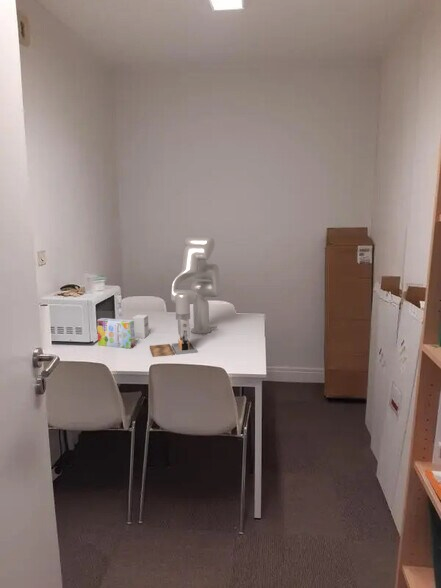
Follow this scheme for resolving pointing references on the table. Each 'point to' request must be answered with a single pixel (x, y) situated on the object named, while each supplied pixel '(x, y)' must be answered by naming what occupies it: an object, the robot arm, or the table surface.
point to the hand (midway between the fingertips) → (183, 348)
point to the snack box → (116, 332)
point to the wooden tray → (161, 350)
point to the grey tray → (191, 350)
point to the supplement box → (141, 326)
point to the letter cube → (181, 344)
